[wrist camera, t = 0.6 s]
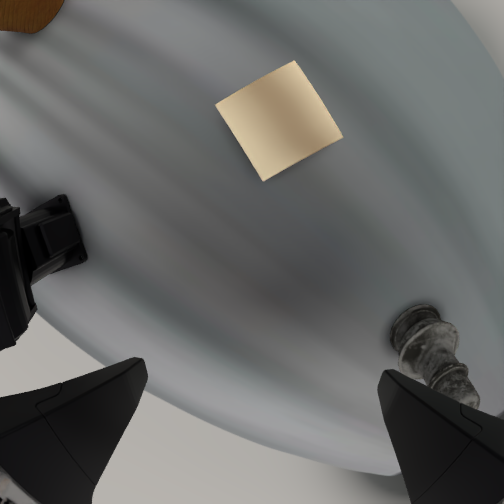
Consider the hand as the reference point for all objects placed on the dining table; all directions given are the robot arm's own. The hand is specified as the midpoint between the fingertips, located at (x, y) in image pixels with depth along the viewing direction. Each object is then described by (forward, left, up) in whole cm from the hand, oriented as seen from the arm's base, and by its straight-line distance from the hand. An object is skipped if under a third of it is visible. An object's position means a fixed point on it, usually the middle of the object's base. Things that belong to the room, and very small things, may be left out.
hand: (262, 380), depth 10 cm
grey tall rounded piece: (+11, -10, -13) cm, 20 cm away
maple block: (+3, +9, -13) cm, 16 cm away
